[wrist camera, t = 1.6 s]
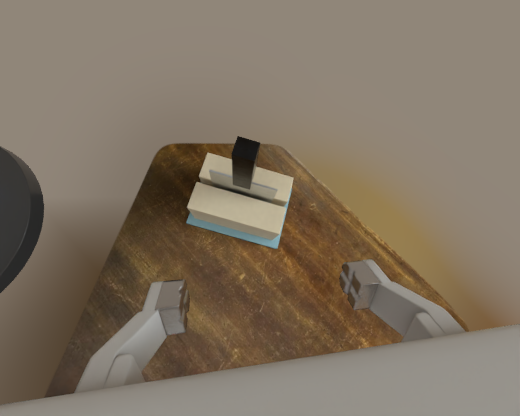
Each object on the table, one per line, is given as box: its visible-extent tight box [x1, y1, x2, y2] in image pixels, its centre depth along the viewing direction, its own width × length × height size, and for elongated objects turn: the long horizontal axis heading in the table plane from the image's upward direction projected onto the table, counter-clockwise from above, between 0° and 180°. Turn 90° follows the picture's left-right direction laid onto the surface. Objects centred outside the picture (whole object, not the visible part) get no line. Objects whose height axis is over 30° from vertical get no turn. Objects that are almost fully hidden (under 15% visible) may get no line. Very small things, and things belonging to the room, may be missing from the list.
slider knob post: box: [209, 136, 278, 203], centre depth 25 cm, size 8×2×13 cm, turn 75°
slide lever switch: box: [186, 153, 293, 249], centre depth 33 cm, size 14×10×7 cm
